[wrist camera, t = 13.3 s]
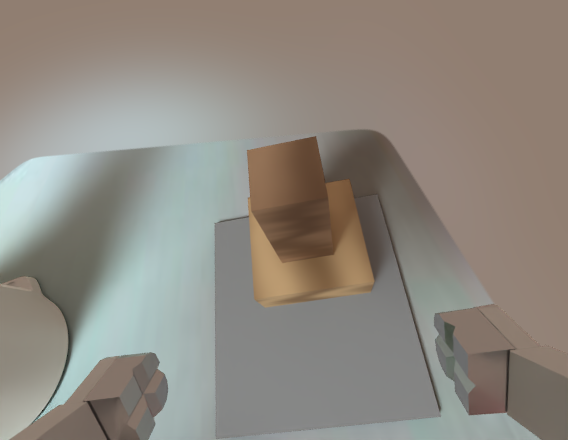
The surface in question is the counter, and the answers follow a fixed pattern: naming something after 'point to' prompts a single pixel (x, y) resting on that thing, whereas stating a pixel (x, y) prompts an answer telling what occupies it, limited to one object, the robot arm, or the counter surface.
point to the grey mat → (315, 346)
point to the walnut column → (291, 199)
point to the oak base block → (315, 259)
